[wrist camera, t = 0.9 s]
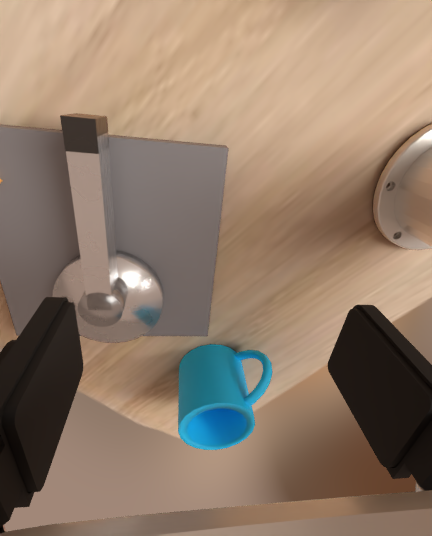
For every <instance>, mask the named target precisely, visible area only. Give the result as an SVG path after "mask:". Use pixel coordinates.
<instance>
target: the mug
mask: <svg viewBox="0 0 432 536" xmlns="http://www.w3.org/2000/svg"><path fill="white" fill-rule="evenodd" d="M248 358H255V359H258V360H260V361H261V363H262V364H263V373H262V377H261V380H260V381H259V383H258V385H257V386H256V388H255V389H254V390H253V391H252V392H251V393H250V394H249V393H248V388H247V384H246V380H245V375H244V371H243V366H242V362H241V360H243V359H248ZM271 376H272V364H271V362H270V360H269V359H268V357H267V356H266V355H265V354H263V353H261V352H259V351H255V350H246V351H241V352H238V353H237V352H235V351H234V350H233V349H231V348H229V347H226V346H223V345H216V344H209V345H204V346H200V347H197V348H195V349H193V350H191V351H190V352H188V353H187V354H186V355H185V356H184V357H183V359H182V360H181V362H180V366H179V414H178V432H179V435H180V437H181V439H182V440H183V441H184V442H185V443H186V444H188V445H190V446H192V447H195V448H199V449H204V450H217V449H223V448H228V447H230V446H233V445H236V444H238V443H240V442H241V441H242V440H244V439H246V438H247V437H248V436H249V435H250V434H251V433H252V431H253V428H254V426H255V420H254V414H253V410H252V406H251V405H253V404H254V403H255V402H256V401H257V400H258V399H259V398H260V397H261V396H262V395H263V394H264V392H265V391H266V389H267V387H268V385H269V384H270V380H271Z"/></svg>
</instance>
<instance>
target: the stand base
mask: <svg viewBox="0 0 432 536" xmlns="http://www.w3.org/2000/svg"><path fill="white" fill-rule="evenodd" d="M108 138H109V156H110V170H111V184H112V198H113V212H114V225H115V239H116V250H118V251H123V252H126V253H129V254H132V255H134V256H136V257H138V258H139V259H141V260H143V261H144V262H145V263H147V264H148V265H149V266H150V267H151V268H152V269H153V270H154V271H155V273H156V274H157V276H158V277H159V279H160V282H161V284H162V288H163V305H162V312H161V315H160V318H159V320H158V321H157V323H156V324H155V326H154V327H153V328H152V329H151V330H150V331H148V332H147V333H146V334H144V335H143V336H208V327H209V318H210V309H211V300H212V291H213V282H214V273H215V264H216V255H217V246H218V237H219V228H220V219H221V210H222V201H223V192H224V183H225V174H226V165H227V156H228V147H227V146H222V145H211V144H201V143H190V142H179V141H169V140H158V139H148V138H137V137H126V136H116V135H108ZM79 255H80V250H79V243H78V235H77V228H76V221H75V214H74V207H73V199H72V192H71V185H70V178H69V171H68V163H67V156H66V151H65V146H64V139H63V132H62V130H52V129H41V128H31V127H20V126H10V125H0V281H1V284H2V288H3V291H4V294H5V298H6V301H7V304H8V308H9V311H10V314H11V318H12V321H13V325H14V328H15V331H16V335H20V334H21V332H22V331H23V329H24V328H25V326H26V325H27V323H28V322H29V320H30V319H31V318H32V316H33V315H34V313H35V312H36V310H37V309H38V307H39V306H40V304H41V303H42V301H43V300H44V298H45V297H53V288H54V285H55V282H56V280H57V278H58V277H59V275H60V274H61V272H62V271H63V270H64V268H65V267H66V266H67V264H68V263H69V262H70V261H72V260H73V259H74V258H76V257H77V256H79ZM79 336H82V335H80V334H79Z"/></svg>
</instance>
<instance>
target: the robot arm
mask: <svg viewBox="0 0 432 536" xmlns="http://www.w3.org/2000/svg"><path fill="white" fill-rule="evenodd" d="M373 214H374V219H375V222H376V225H377V227H378V229H379V231H380V232H381V233H382V234H383V236H384V237H385V238H387V239H388V240H389V241H391V242H392V243H394V244H396V245H397V246H399V247H402V248H406V249H409V250H424V249H431V248H432V124H430V125H428V126H427V127H425V128H423V129H421V130H420V131H419V132H417V133H416V134H414V135H413V136H412V137H410V138H409V139H408V140H407V141H406V142H405V143H404V144H403V145H402V146H401V147H400V148H399V149H398V150H397V151H396V153H395V154H394V155H393V156H392V158H391V159H390V160H389V162H388V163H387V165H386V167H385V168H384V170H383V172H382V174H381V176H380V178H379V181H378V183H377V186H376V190H375V194H374V199H373ZM328 370H329V373H330V374H331V376H332V378H333V380H334V382H335V383H336V385H337V387H338V389H339V390H340V392H341V394H342V396H343V398H344V399H345V401H346V403H347V405H348V406H349V408H350V410H351V412H352V414H353V415H354V417H355V419H356V421H357V422H358V424H359V426H360V428H361V430H362V431H363V433H364V435H365V437H366V439H367V440H368V442H369V444H370V446H371V447H372V449H373V451H374V453H375V455H376V456H377V458H378V460H379V461H380V463H381V464H382V465H383V466H384V467H386V468H387V470H388V471H389V473H390V475H391V477H392V478H393V479H396V478H409V477H410V475H411V474H412V475H413V477H414V478H415V480H416V492H405V493H392V494H380V495H367V496H354V497H342V498H331V499H318V500H306V501H294V502H282V503H271V504H259V505H247V506H235V507H224V508H213V509H202V510H191V511H180V512H170V513H158V514H147V515H136V516H125V517H116V518H107V519H97V520H88V521H79V522H71V523H61V524H52V525H46V526H39V527H33V528H26V529H21V530H14V531H8V532H6V529H5V526H4V524H5V523H6V522H8V521H9V520H10V517H11V515H12V512H13V510H14V508H17V507H29V505H30V503H31V500H32V497H33V494H34V492H38V491H41V489H42V487H43V486H44V483H45V480H46V477H47V474H48V471H49V468H50V466H51V463H52V460H53V457H54V454H55V451H56V448H57V445H58V443H59V440H60V437H61V434H62V431H63V428H64V425H65V423H66V420H67V417H68V414H69V411H70V408H71V405H72V402H73V399H74V396H75V393H76V391H77V388H78V385H79V382H80V379H81V376H82V372H83V359H82V352H81V345H80V338H79V331H78V324H77V317H76V310H75V304H74V303H73V302H69V301H68V299H67V298H66V297H45V298H44V300H43V301H42V303H41V304H40V306H39V307H38V309H37V310H36V312H35V313H34V315H33V316H32V318H31V319H30V320H29V322H28V323H27V325H26V326H25V328H24V329H23V331H22V332H21V334H20V335H19V337H18V338H17V340H12V341H10V342H8V343H7V344H6V345H5V347H4V348H3V349H2V351H1V352H0V536H432V365H431V364H430V363H429V362H428V361H427V360H426V359H425V358H424V357H423V355H421V354H420V352H419V351H418V350H417V349H416V348H415V347H414V346H413V345H412V344H411V343H410V342H409V341H408V340H407V339H406V338H405V337H404V336H403V335H402V334H401V333H400V332H399V331H398V330H397V329H396V328H395V327H394V325H393V324H392V323H391V322H390V321H389V320H388V319H387V318H386V317H385V316H384V315H383V314H382V313H381V312H380V311H379V310H378V309H377V308H376V307H375V306H373V305H356V306H354V308H353V309H351V310H350V311H349V313H348V315H347V317H346V320H345V322H344V325H343V327H342V330H341V332H340V334H339V337H338V339H337V342H336V344H335V347H334V349H333V351H332V354H331V356H330V359H329V361H328Z"/></svg>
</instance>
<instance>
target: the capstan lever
mask: <svg viewBox="0 0 432 536" xmlns="http://www.w3.org/2000/svg"><path fill="white" fill-rule="evenodd" d="M60 117H61V124H62V132H63V139H64V146H65V151H66V156H67V163H68V171H69V178H70V185H71V192H72V199H73V207H74V214H75V221H76V228H77V235H78V243H79V250H80V255H79V256H77V257H76V258H74V259H73V260H72V261H70V262H69V263H68V264H67V266H66V267H65V268H64V270H63V271H62V272H61V274H60V275H59V277H58V278H57V280H56V282H55V285H54V288H53V297H66V298H67V299H68V301H69V302H73V303H74V304H75V310H76V317H77V324H78V331H79V334H80V335H82V336H84V337H86V338H89V339H92V340H95V341H100V342H107V343H119V342H126V341H130V340H133V339H136V338H139V337H141V336H143V335H144V334H146V333H147V332H148V331H150V330H151V329H152V328H153V327H154V326H155V324H156V323H157V321H158V320H159V318H160V315H161V312H162V305H163V288H162V284H161V282H160V279H159V277H158V276H157V274H156V273H155V271H154V270H153V269H152V268H151V267H150V266H149V265H148V264H147V263H145V262H144V261H143V260H141V259H139V258H138V257H136V256H134V255H132V254H129V253H126V252H123V251H118V250H116V239H115V225H114V212H113V198H112V184H111V170H110V156H109V138H108V124H107V117H106V116H96V115H87V114H68V115H60Z"/></svg>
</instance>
